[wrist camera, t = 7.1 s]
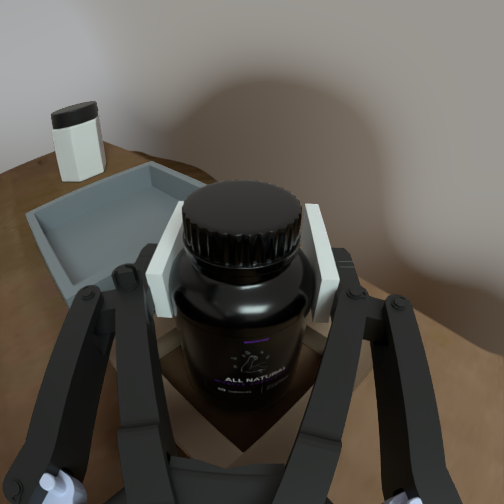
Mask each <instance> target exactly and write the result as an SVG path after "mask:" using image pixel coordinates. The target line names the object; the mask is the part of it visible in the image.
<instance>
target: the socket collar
mask: <svg viewBox="0 0 504 504" xmlns="http://www.w3.org/2000/svg"><path fill="white" fill-rule="evenodd" d="M153 319H154V323H155V331H156V338H157V346H158V353H159V359H161V358H162V357H164V356H165V355H167V354H168V353H170V352H171V351H173V350H174V349H175V348H177V347H178V346H180V345H181V344H180V340H179V336H178V331H177V327H176V322H175V318H174V313H173V317H172V318H167V317H157V314H156V313H154V314H153ZM331 323H332V321H331V316H330V318H329V322H328V323H313V322H312V315H311V308H310V313H309V317H308V321H307V326H306V330H305V335H304V339H303V343H304V344H305V345H307V346H308V347H310V348H311V349H313V350H314V351H316V352H317V353H319V354H320V355H323V352H324V348H325V345H326V341H327V337H328V333H329V330H330V327H331ZM109 362H110V363H111V365H112V366H113V368H114V369H115V370H116V372H117V368H116V338H114V340H113V344H112V348H111V352H110V356H109ZM372 367H373V362H372V355H371V347H370V341H367V340H362V346H361V352H360V357H359V363H358V368H357V373H356V378H355V383H354V387H353V392H352V394H353V393H354V391H355V390H356V389H357V387H358V386H359V385H360V383H361V382H362V381H363V379H364V378H365V377H366V375H367V374H368V373H369V371H370V370H371V369H372ZM162 379H163V385H164V390H165V396H166V401H167V407H168V412H169V417H170V422H171V427H172V431H173V436H174V441H175V443H176V444H177V445H178V446H179V447H180V448H181V449H182V450H183V451H184V452H185V453H186V454H187V455H188V456H189V457H190V458H191V459H198V460H201V461H204V462H207V463H210V464H213V465H216V466H219V467H222V468H234V467H240V466H245V465H251V464H256V463H263V464H281V463H284V467H285V465H286V462H287V460H288V457H289V455H290V452H291V449H292V447H293V444H294V441H295V439H296V436H297V433H298V430H299V427H300V424H301V422H302V419H303V416H304V413H305V410H306V407H307V404H308V401H309V398H310V395H311V392H312V388H313V386H312V387H311V388H310V389H309V390H308V391H307V392H306V393H305V394H304V395H303V396H302V397H301V399H300V400H299V401H298V402H297V403H296V404H295V405H294V406H293V407H292V408H291V409H290V410H289V411H288V412H287V413H286V414H285V415H284V416H283V417H282V418H281V419H280V420H279V421H278V422H277V423H276V424H275V425H273V426H272V427H271V428H270V429H269V430H268V431H267V432H266V433H265V434H264V435H263V436H262V437H261V438H260V439H259V440H257V441H256V442H255V443H254V444H253V445H252V446H251V447H250V448H249V449H247V450H246V451H245V452H244V453H243V452H242V451H241V450H239V449H238V448H237V447H236V446H235V445H234V444H232V443H231V442H230V441H229V440H228V439H227V438H226V437H225V436H223V435H222V434H221V433H220V432H219V431H218V430H217V429H216V428H215V427H214V426H213V425H212V424H210V423H209V422H208V421H207V420H206V419H205V418H204V417H203V416H202V415H201V414H200V413H199V412H198V411H197V410H196V409H195V408H194V407H193V406H192V405H191V404H190V403H189V402H188V401H187V400H186V399H185V398H184V397H183V396H182V395H181V394H180V393H179V392H178V391H177V390H176V389H175V388H174V387H173V386H172V385H171V384H170V382H169V381H168V380H167V379H166V378H165V377H164V376H163V375H162Z"/></svg>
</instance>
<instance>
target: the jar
mask: <svg viewBox="0 0 504 504" xmlns="http://www.w3.org/2000/svg"><path fill="white" fill-rule="evenodd" d="M51 119H52V125H53V130H52V137H53V142H54V147H55V152H56V157H57V161H58V166H59V170H60V175H61V179H62V181H63V182H81V181H84V180H86V179H89V178H91V177H93V176H96V175H98V174H101V173H103V172H104V169H105V166H106V158H105V152H104V146H103V140H102V133H101V126H100V119H99V115H98V107H97V103H96V102H95V101H90V102H84V103H80V104H76V105H72V106H68V107H65V108H62V109H60V110H57V111H55V112H53V113H52V114H51Z"/></svg>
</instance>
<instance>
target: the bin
mask: <svg viewBox="0 0 504 504" xmlns="http://www.w3.org/2000/svg"><path fill="white" fill-rule="evenodd" d="M204 186H206V184H204V183H202V182H200V181H197V180H195V179H193V178H190V177H188V176H186V175H183V174H181V173H179V172H176V171H174V170H172V169H169V168H167V167H165V166H162V165H160V164H158V163H155V162H153V161H151V162H148V163H145V164H142V165H139V166H136V167H134V168H131V169H128V170H125V171H123V172H120V173H117V174H115V175H112V176H110V177H107V178H104V179H102V180H99V181H97V182H94V183H92V184H90V185H87V186H85V187H82V188H80V189H78V190H75V191H73V192H71V193H68V194H66V195H64V196H62V197H59V198H57V199H55V200H53V201H51V202H48V203H46V204H44V205H42V206H40V207H38V208H36V209H34V210H32V211H30V212H28V213H26V214H25V215H26V218H27V221H28V224H29V226H30V229H31V232H32V234H33V237H34V240H35V242H36V245H37V247H38V249H39V251H40V254H41V256H42V258H43V260H44V262H45V264H46V266H47V268H48V270H49V273H50V275H51V277H52V279H53V281H54V282H55V284H56V286H57V288H58V290H59V292H60V294H61V296H62V298H63V300H64V301H65V303H66V305H67V307H68V309H70V307H71V305H72V302H73V300H74V298H75V296H76V294H77V292H78V291H79V290H80V289H81V288H82V287H85V286H87V285H96V286H98V287H99V288H100V291H101V292H103V291H108V290H113V289H116V287H115V285H114V282H113V279H112V276H111V274H112V271H113V270H114V269H115V268H116V267H118V266H120V265H122V264H126V263H132V264H135V262H136V259H137V257H139V253H140V251H141V249H142V248H143V247H145V246H146V245H147V244H148V243H156V244H159V242H160V240H161V237H162V235H163V233H164V231H165V229H166V227H167V224H168V222H169V220H170V218H171V216H172V214H173V212H174V210H175V208H176V206H177V204H178V202H179V201H184V200H186V199H187V196H188V195H190V194H192V192H193V191H196V190H198V189H199V188H200V187H204Z"/></svg>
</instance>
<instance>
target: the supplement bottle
mask: <svg viewBox="0 0 504 504" xmlns="http://www.w3.org/2000/svg"><path fill="white" fill-rule="evenodd" d="M301 218H302V207H301V205H300V201H299V200H298V199H296V196H295V195H293V194H291V192H290V191H287V190H285V189H284V188H282V187H279V186H277V185H274V184H269V183H267V182H260V181H255V180H253V181H252V180H226V181H223V182H216V183H213V184H208V185H206V186H204V187H200V188H199V189H198V190H196V191H193V192H192V194H190V195H188V196H187V199H186V200H184V203H183V206H182V220H183V235H182V237H183V246H184V247H183V248H182V249H181V251H180V252H179V253H178V255H177V256H176V258H175V259H174V261H173V264H172V267H171V271H170V276H169V293H170V299H171V304H172V309H173V313H174V318H175V322H176V327H177V331H178V336H179V340H180V344H181V348H182V352H183V356H184V360H185V364H186V368H187V371H188V375H189V378H190V381H191V383H192V385H193V387H194V389H195V391H196V392H197V393H198V395H199V396H200V397H201V398H202V399H203V400H205V401H206V402H207V403H209V404H210V405H212V406H214V407H215V408H218V409H220V410H223V411H226V412H231V413H252V412H257V411H260V410H263V409H266V408H268V407H270V406H272V405H273V404H275V403H276V402H277V401H279V400H280V399H281V398H282V397H283V396H284V395H285V394H286V392H287V391H288V389H289V387H290V386H291V383H292V381H293V378H294V374H295V371H296V367H297V363H298V359H299V355H300V351H301V347H302V343H303V339H304V335H305V330H306V326H307V321H308V317H309V313H310V308H311V303H312V299H313V292H314V284H315V281H314V273H313V270H312V267H311V264H310V262H309V260H308V258H307V257H306V255H305V254H304V252H303V251H302V250H301V249H300V248H299V246H300V237H301V235H300V226H301Z"/></svg>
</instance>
